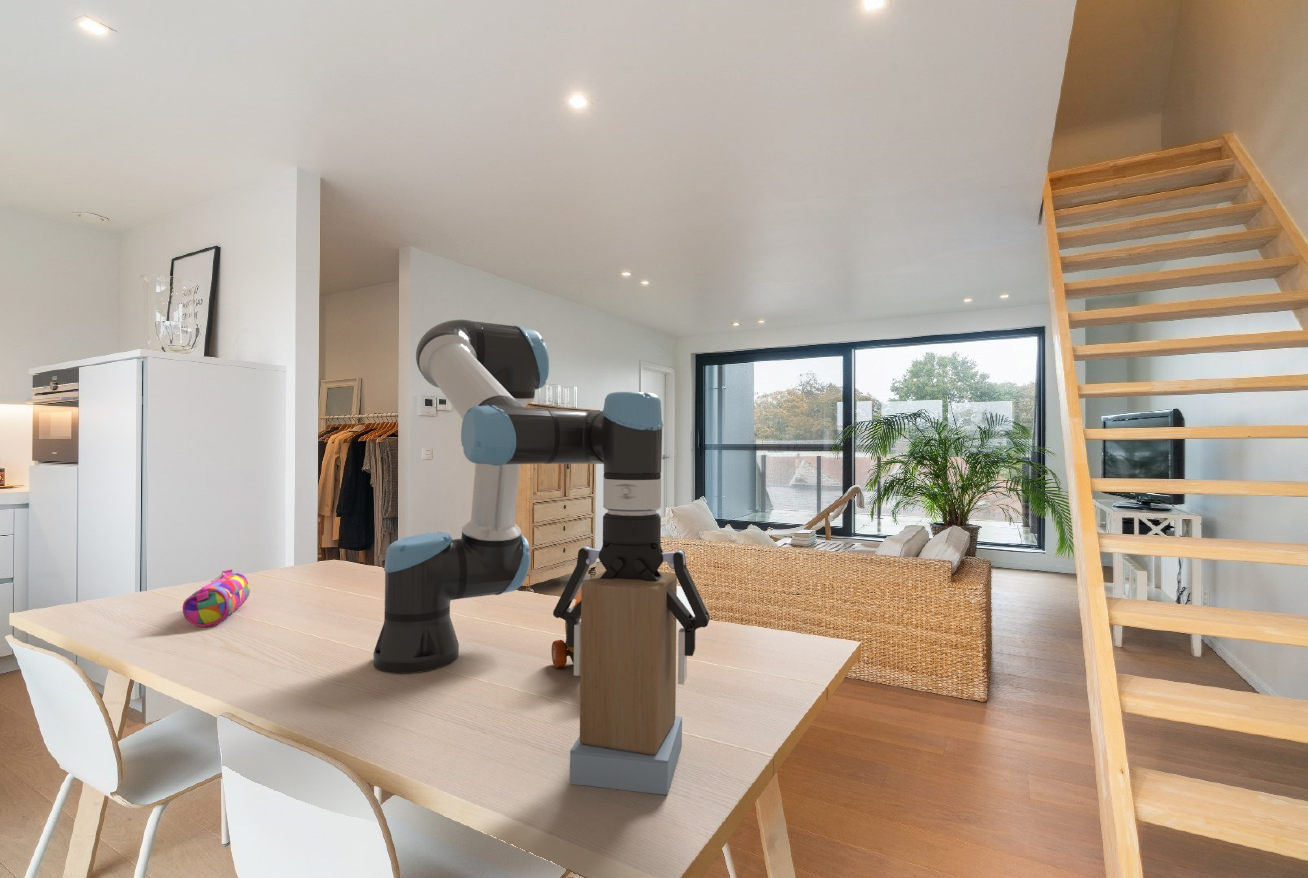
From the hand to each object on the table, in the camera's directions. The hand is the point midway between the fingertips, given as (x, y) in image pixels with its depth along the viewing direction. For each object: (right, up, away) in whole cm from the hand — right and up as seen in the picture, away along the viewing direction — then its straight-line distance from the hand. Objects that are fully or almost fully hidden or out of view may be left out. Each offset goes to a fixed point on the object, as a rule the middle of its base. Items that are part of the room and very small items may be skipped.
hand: (630, 676), depth 79 cm
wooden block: (0, -7, 0) cm, 7 cm away
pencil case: (-99, -11, +65) cm, 119 cm away
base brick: (0, -11, 0) cm, 11 cm away
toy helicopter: (-9, -12, +30) cm, 34 cm away
